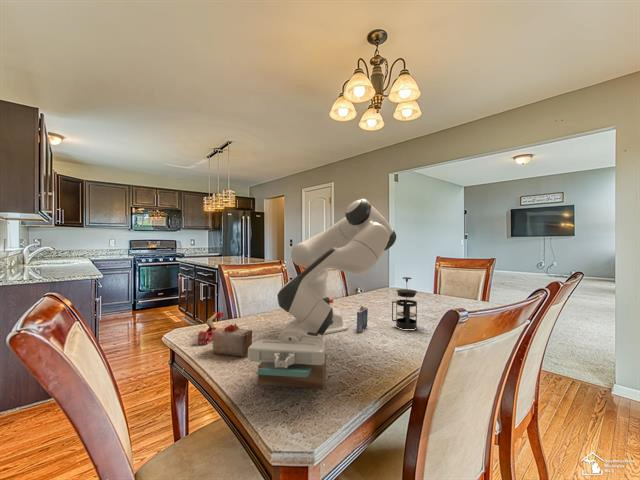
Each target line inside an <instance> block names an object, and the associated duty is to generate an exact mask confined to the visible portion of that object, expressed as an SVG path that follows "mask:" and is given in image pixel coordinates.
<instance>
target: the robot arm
mask: <svg viewBox="0 0 640 480" xmlns="http://www.w3.org/2000/svg"><path fill="white" fill-rule="evenodd" d="M344 216H345V217H343V218H341V219H340V220H339V221H337V222H336V223H334V224H333V225H332V226H330V227H329V228H327V229H325V230H323V231H322V232H320V233H317V234H315V235H314V236H311V237H310V238H308V239H306V240H303V241H302V242H298V243H297V244H295V245H293V246H292V248H291V251H290V257H291V260H292V262H293V263H294V265H296V266H300V267H304V268H305V269H304V270H303V271H301V272H300V273H299V274H298V275H296V276H295V277H294V278H293V279H291V280H289V281H288V282H286V283H285V284H284V285H283V286H282V287H281V288H280V289H279V290H278V293H277V302H278V306H279V308H281V309H282V310H284V311H285V312H286V313H289V314H290V315H291V316H292V317H294V318H293V319H291V320H290V321H289V322H288V323H287V324H286V326H285V327H284V329H283V330H282V331H281V333H280V334H279V336H278V337H277V338H276V339H266V338H262V339H258V340H256V341H254V342H252V344H251V345H250V346H249V348H248V356H247V359H248V361H249V362H256V363H257V362H259V363H261V362H271V363H275V368H287V367H288V366H289V365H292V364H306V365H323V364H324V363H325V354H326V347H325V346H326V345H325V342H324V340H323V335H327V334H332V333H337V332H338V333H339V332H344V331H348V330H349V327H348V324H346V323H345V322H343V321H344V320H343V316H342V314H341V313H340V312H339V311H338V310H337V309H336V308H335V307H334V306H332V305H331V304H333V303H334V299H333V298H332V297H328V296H327V280H328V279H327V278H328V276H329V275H328V274H329V271H330V269H333V270H338V271H341V272H344V273H347V274H350V275H364V274H365V273H367V272H369V271H370V270H371V269H372V268H373V267H374V266H375V264H376V263H377V261H378V260H379V259H380V257H381V256H382V254H383V253H384V251H387V250H388V249H391V247H392V246H393V245H394V244H395V242H396V240H397V234H396V231H395V229H394V228H393V227H392V226H391V225H390V224H389V222H388V221H387V219H386V218H385V216H384V215H382V214H381V213H380V212H379V211H378V210H377V209H376V208H375V207H374V206H373V205H372V203H371V202H370V201H368V200H367V199H366V198H359V199H356V200H355V201H353V202H351V203H350V205H348V207H347V208H346V209H345V214H344Z"/></svg>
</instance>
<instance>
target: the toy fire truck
mask: <svg viewBox="0 0 640 480" xmlns="http://www.w3.org/2000/svg"><path fill="white" fill-rule="evenodd" d="M224 317H225V316H224V312H219V311H216V312H212V316H211V317H210V318H207V320H206V325H207V326H208V328H207V330H205V331H203V330H201V331H200V332H199V333H198V334H197V335H198V336H197V344H199V345H208V344H209V343H210V342H211V341H213V339H212V332H213V331H214V330H216V329H217V328H218V327H216V326H215V324H214V322H213V320H214V319H222V318H224Z"/></svg>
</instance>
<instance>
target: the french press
mask: <svg viewBox="0 0 640 480" xmlns="http://www.w3.org/2000/svg"><path fill="white" fill-rule="evenodd" d="M401 278H402V279H403V280H405V282H406V285H405V286H406V287H405V288H404V289H403V288H401V289H397V290H396V293H397V296H398V297H402V298H406V299H397V300H393V301H392V302H391V321H392V322H395V327H396V326H397V327H399V328H402V329H415V328H417V329H418V326H417V323H418V320H417V318H418V315H417V314H418V302H417V301H415V300H411V299H408V298H414V297H416V294H417V293H418V291H417V290H415V289H409V288H408V282H409V280H412V277H409V276H406V277H405V276H404V277H401ZM394 304H396V305H395V306H396V307H395V308H396V311H395V312H396V313H395V314H396V316H395V319H394ZM398 306H400V307H403V308H402V310H403V311H398ZM414 307H415V312H412V311H411V308H414ZM398 317H399V318H398ZM414 318H415V319H414Z"/></svg>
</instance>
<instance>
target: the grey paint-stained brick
mask: <svg viewBox="0 0 640 480" xmlns="http://www.w3.org/2000/svg"><path fill="white" fill-rule="evenodd" d="M216 328H217V329H216V330H214V331H213V332H212V339H213V340H212V354H213V355H226V356H231V357H232V356H233V357H242V358H246V357H248V348H249V346H250V345H251V344H253V330H251V329H243V328H240V327H239V326H237V323H234V324H229V325H227V326H226V327H216Z"/></svg>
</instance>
